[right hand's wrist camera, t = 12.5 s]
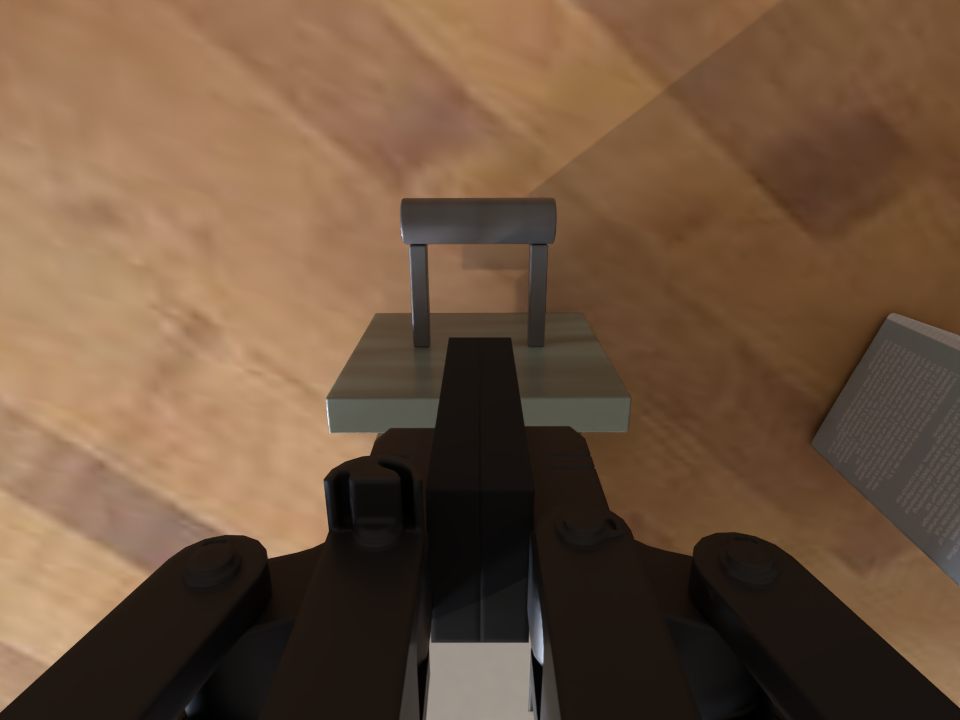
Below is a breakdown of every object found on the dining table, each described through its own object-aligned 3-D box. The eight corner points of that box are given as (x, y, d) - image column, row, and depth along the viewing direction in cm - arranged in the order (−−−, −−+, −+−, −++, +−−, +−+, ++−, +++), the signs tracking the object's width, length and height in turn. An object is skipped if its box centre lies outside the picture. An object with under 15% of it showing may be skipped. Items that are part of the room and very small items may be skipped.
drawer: (366, 188, 24) (305, 216, 16) (590, 187, 24) (649, 215, 16) (393, 588, 31) (362, 754, 23) (566, 587, 31) (597, 753, 23)
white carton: (377, 463, 30) (322, 636, 19) (581, 462, 30) (635, 635, 19) (394, 701, 36) (360, 931, 25) (566, 701, 36) (601, 931, 25)
